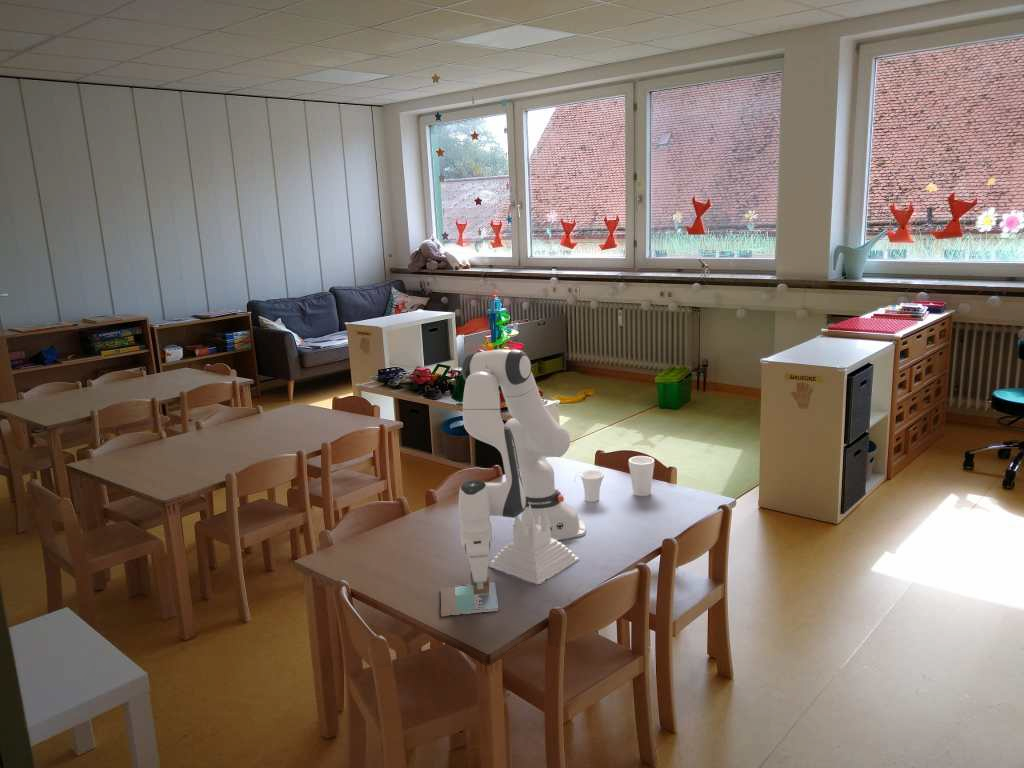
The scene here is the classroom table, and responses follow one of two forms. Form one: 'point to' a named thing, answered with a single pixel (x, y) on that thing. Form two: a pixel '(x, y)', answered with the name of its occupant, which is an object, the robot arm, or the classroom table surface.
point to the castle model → (533, 552)
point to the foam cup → (641, 474)
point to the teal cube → (465, 598)
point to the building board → (489, 599)
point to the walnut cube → (485, 586)
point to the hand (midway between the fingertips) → (479, 581)
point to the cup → (592, 484)
